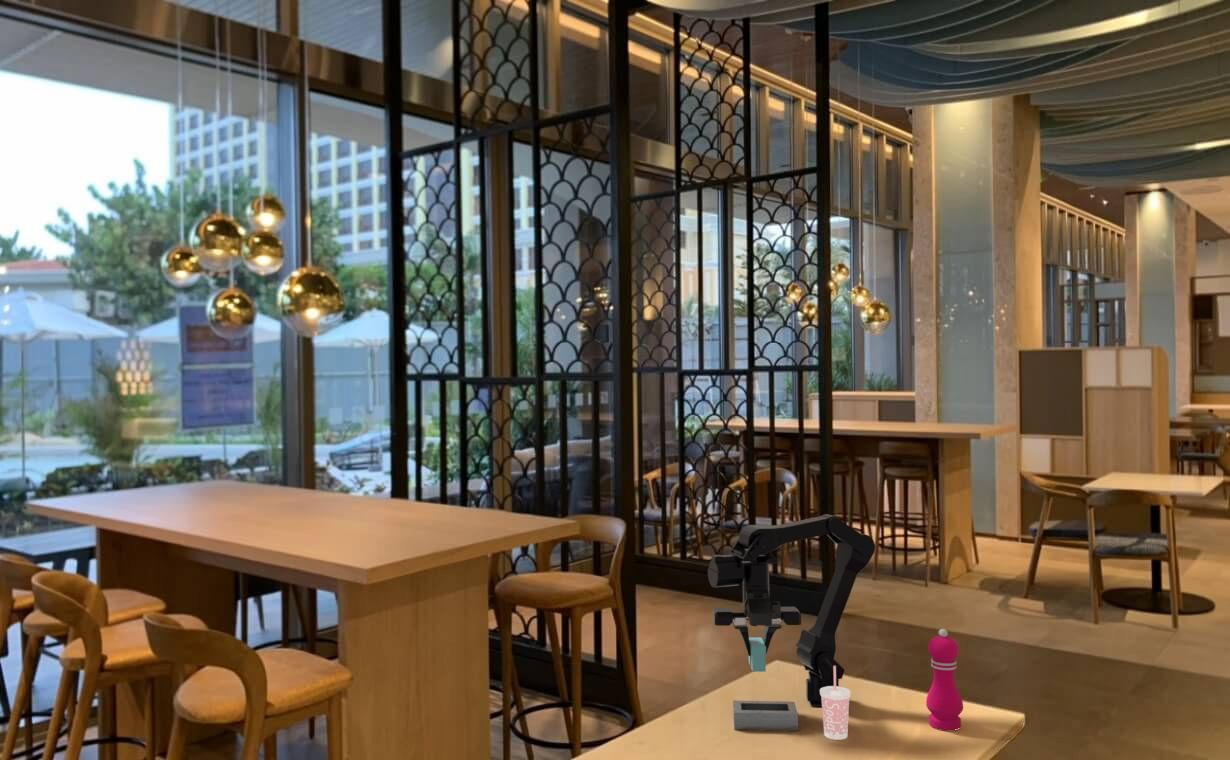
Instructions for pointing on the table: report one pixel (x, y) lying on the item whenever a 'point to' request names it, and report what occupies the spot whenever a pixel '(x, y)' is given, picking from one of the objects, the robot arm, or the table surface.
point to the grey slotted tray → (765, 715)
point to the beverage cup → (835, 710)
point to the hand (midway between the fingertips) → (756, 655)
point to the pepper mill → (944, 684)
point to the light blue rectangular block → (757, 654)
